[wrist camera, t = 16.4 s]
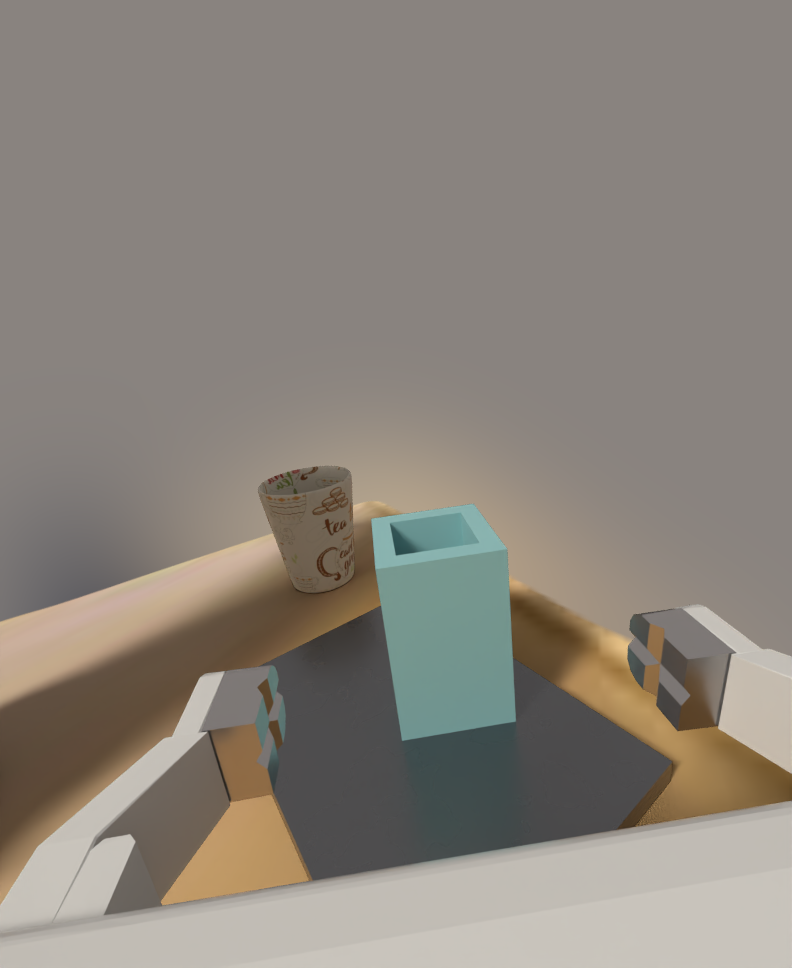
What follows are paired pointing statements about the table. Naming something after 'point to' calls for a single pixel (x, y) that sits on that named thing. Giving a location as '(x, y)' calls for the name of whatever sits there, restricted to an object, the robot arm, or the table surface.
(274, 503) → the mug
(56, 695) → the table surface
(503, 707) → the sleeve
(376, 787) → the plate
